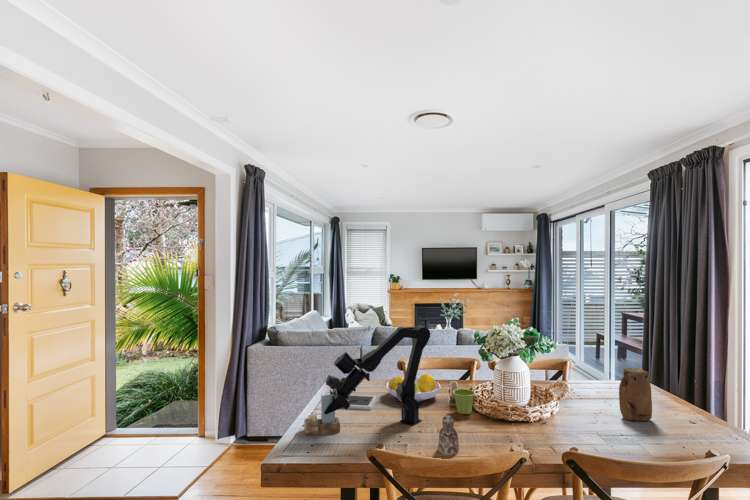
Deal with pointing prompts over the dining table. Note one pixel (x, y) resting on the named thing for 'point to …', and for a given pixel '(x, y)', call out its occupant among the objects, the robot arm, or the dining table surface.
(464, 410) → the plant pot
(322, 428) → the rack
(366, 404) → the picture frame
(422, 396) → the fruit bowl
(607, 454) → the dining table surface
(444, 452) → the figurine
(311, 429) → the offcut stack
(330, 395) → the light blue tall bar
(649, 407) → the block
